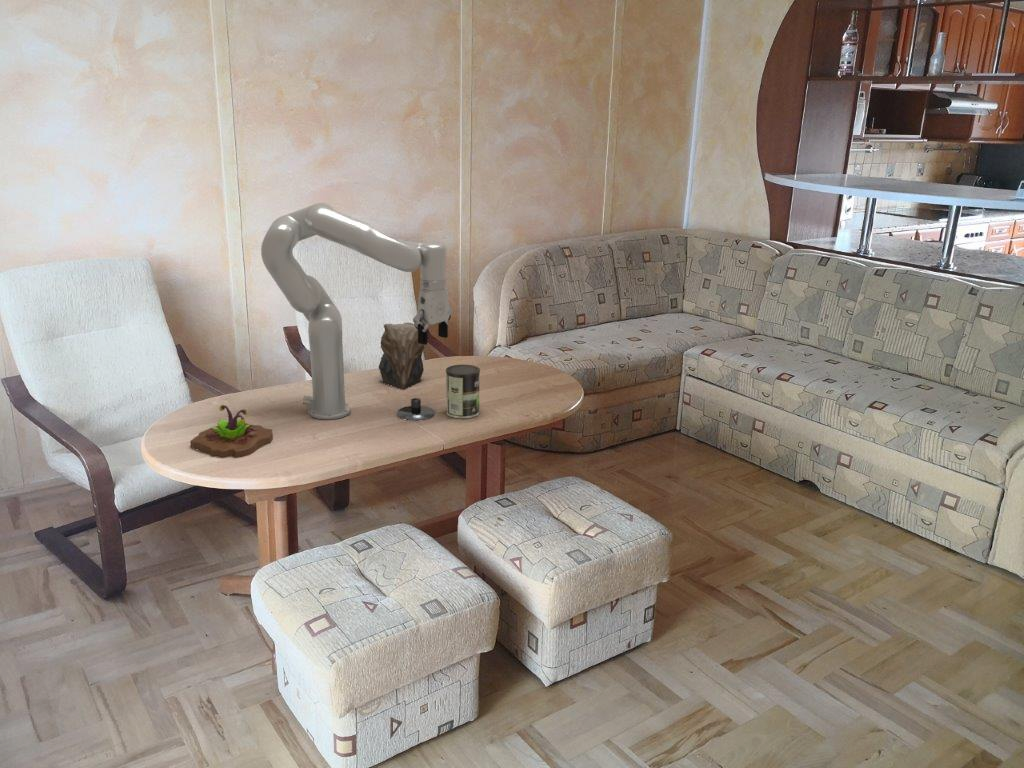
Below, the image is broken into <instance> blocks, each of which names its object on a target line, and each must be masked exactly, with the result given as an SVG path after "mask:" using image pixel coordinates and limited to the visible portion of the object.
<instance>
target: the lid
mask: <svg viewBox="0 0 1024 768" xmlns="http://www.w3.org/2000/svg"><path fill="white" fill-rule="evenodd" d="M421 403H422V399H421V398H418V397H417V398H415V397H414V398H411V399H410V405H409V406H403V407H401V408H399V409H398V410H397V411H396V417H398V418H399V417H400V418H402V419H401V420H403V419H406V420H405V421H408V420H413V421H412V422H420V421H419V420H423V421H427V420H430V419H432V418H434V417H435V415H436V411H435V409H434V408H433V407H429V406H425V405H422V404H421ZM400 418H399V419H400ZM426 419H427V420H426ZM414 420H415V421H414Z"/></svg>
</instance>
